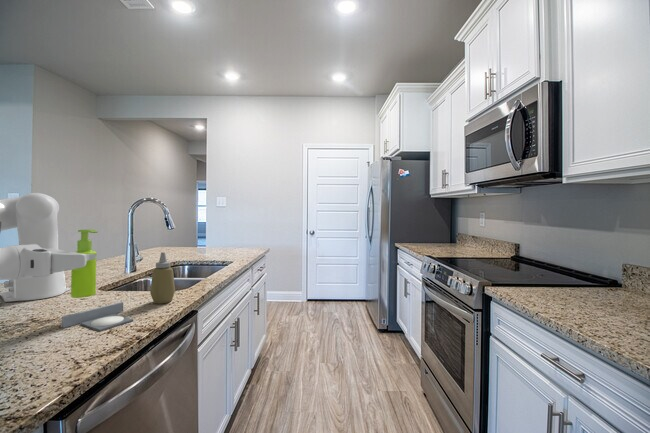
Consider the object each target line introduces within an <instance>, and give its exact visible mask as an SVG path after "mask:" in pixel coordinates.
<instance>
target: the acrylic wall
mask: <svg viewBox="0 0 650 433" xmlns="http://www.w3.org/2000/svg"><path fill="white" fill-rule="evenodd" d="M123 312H124V302H123V301H120V302H115V303H111V304H107V305H103V306H98V307H95V308H91V309H87V310H82V311H79V312H78V311H77V312H75V313H71V314H67V315H63V316H61V328H63V329H65V328H69V327H71V326H75V325H76V326H77V325H79V324H80V325H81V323H83V322H86V321H90V320H94V319H97V318H101V317H105V316H108V315H112V314H119V313H123Z"/></svg>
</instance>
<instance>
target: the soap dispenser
mask: <svg viewBox="0 0 650 433" xmlns="http://www.w3.org/2000/svg"><path fill="white" fill-rule="evenodd" d="M77 232H78V233H80V239H79V240H77V245H76V246H77V247H76V248H77V249H76V251H75V252H76V253H82V254H90V253H93V254H96V255H97V251H96V250H92V248H93V247H92V246H93V244H92V239H91V240H90V239H89V233H90V234H96V233H98V232H99V231H98V230H96V229H91V228H89V229H78V230H77ZM70 271H71V273H70V274H71V278H70V279H71V280H70V281H71V283H70V284H71V287H70V296H71V298H74V299H76V298H78V299H81V298H88V297H92V296H95V295H96V293H97V258H96V259H95V260H89V261H86V266H84V267H82V268H78V269H73V270H70Z"/></svg>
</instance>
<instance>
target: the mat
mask: <svg viewBox="0 0 650 433" xmlns="http://www.w3.org/2000/svg"><path fill="white" fill-rule="evenodd" d="M131 322H134V319H133V318H129V317H126V316H123V315H119V314H118V313H116V314H112V315H108V316H105V317H101V318H97V319H94V320H90V321H86V322H83V323H80V325H81V326H84V327H87V328H89V329H92V330H95V331H97V332H103V331H105V330H108V329H112V328H115V327H119V326H122V325H124V324H125V325H126V324H128V323H131Z"/></svg>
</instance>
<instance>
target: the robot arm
mask: <svg viewBox="0 0 650 433" xmlns="http://www.w3.org/2000/svg"><path fill="white" fill-rule="evenodd" d="M59 212H60V205H59V202H58V201H57V200H56V199H55V198H54V197H53V196H50V195H47V194H45V193H41V192H32V193H31V192H30V193H27V194H25V195H22V196H16V197H8V198H2V199H0V233H1V232H2V231H7V230H11V229H17V236H18V245H7V246H5V247H0V281H4V280H5V281H4V283H3V284H4V285H3V287H4V288H5V289H6V288H8V290H3V291H1V292H0V296H1V299H3V301H4V302H16V301H17V302H19V301H34V300H40V299H47V298H52V297H57V296H60V295H62V294H64V293H66V292H68V291H71V287H68V286H66V285H67V284H66V277H65V276H66V275H65V272H66V271H67V272H68V271H72V270H73V269H78V268H82V267H84V266H86V261H89V260H95V259H96V260H97V253H96V254H93V253H90V254H82V253H76V251H69V250H63V249H60V248H59V224H58V214H59Z"/></svg>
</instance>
